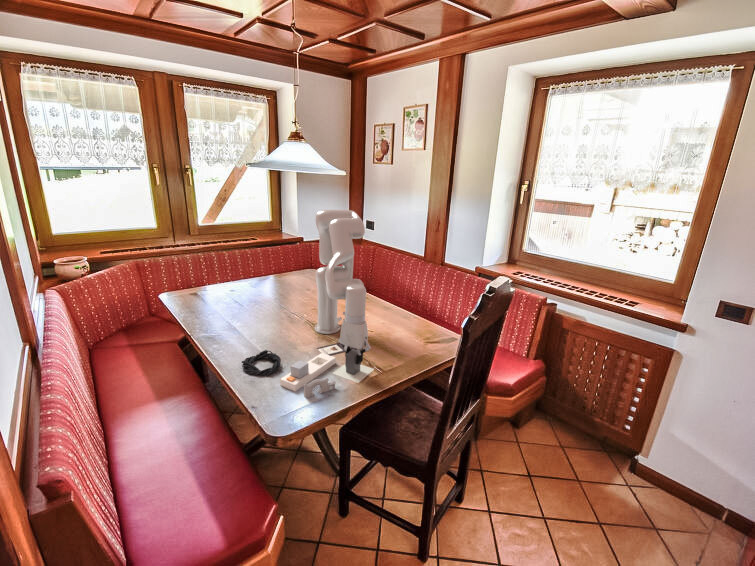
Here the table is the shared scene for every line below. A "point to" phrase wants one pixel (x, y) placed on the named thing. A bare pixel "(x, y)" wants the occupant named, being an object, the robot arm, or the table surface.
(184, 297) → the table surface
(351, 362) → the grey rectangular block
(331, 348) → the chocolate bar
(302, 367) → the grey plug
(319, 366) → the long white plastic board
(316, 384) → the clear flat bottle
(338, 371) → the mat
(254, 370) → the cable
